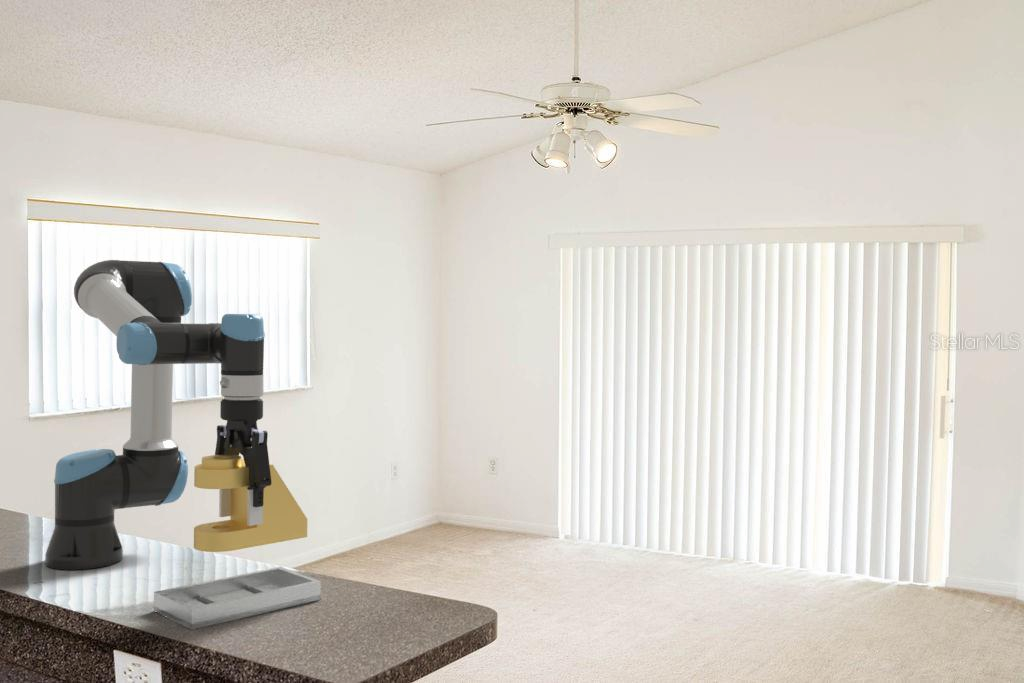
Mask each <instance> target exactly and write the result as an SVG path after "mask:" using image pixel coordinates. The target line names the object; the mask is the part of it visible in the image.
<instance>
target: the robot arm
mask: <svg viewBox="0 0 1024 683" xmlns="http://www.w3.org/2000/svg"><path fill="white" fill-rule="evenodd" d="M73 297H74V299H75V300H74V301H75V302H76V304H77V305H78V307H79V309H81V310H82V311H83V312H84V313H85V315H88V316H90V317H92V318H94V319H98V320H99V321H100V322H101V323H102V324H103V325H104V326H105V327H106V328H107V329H108V330H109V331H110V332H112V334H113V335H114V336H115V337H116V352H117V354H118V358H119V360H120V361H121V362H122V363H124V364H126V365H131V385H130V386H131V389H130V390H131V395H130V398H131V399H130V400H131V401H130V437H129V439H128V440H127V441H126V442H125V443H124V444H122V454H121V455H120V454H119V455H116V453H115V451H114V450H113V449H109V448H103V449H102V448H101V449H99V448H98V449H90V450H85V451H84V450H83V451H80V452H74V453H70V454H68V455H65V456H63V457H61V458H60V459H59V460H58V461H57V462H56V465H55V473H54V479H53V482H54V529H53V530H52V534H51V537H50V540H49V543H48V546H47V548H46V552H45V556H44V557H45V561H44V562H45V563H44V564H45V566H46V567H48V568H50V569H56V570H64V571H65V570H69V571H70V570H71V571H72V570H73V571H74V570H75V571H76V570H89V569H97V568H102V567H107V566H110V565H111V566H112V565H113V564H117V563H119V562H121V561H122V560H123V552H124V551H123V546H122V543H121V539H120V536H119V534H118V532H117V528H116V525H115V511H116V510H119V509H120V510H121V509H129V508H137V507H138V508H139V507H148V506H154V507H155V506H156V507H157V506H158V507H159V506H161V505H164V504H165V505H166V504H171V503H174V502H176V501H177V500H179V499H180V498H181V497H182V495H183V493H184V491H185V488H186V485H187V482H188V474H189V465H188V463H187V462H188V457H187V456H186V454H185V453H184V452H183V451H181V450H180V449H179V443H178V442H176V441H175V439H174V438H173V437H172V435H173V434H172V432H173V431H172V430H173V429H172V427H173V386H174V385H173V382H174V378H173V377H174V376H173V375H174V365H177V364H179V365H180V364H184V365H185V364H187V365H188V364H195V365H196V364H200V365H201V364H220V376H221V377H220V378H221V379H220V381H219V385H220V396H222V397H224V398H222V399H221V400H220V414H219V416H220V419H221V420H222V421H223V420H224V421H226V424H223V425H222V424H221V425H217V426H216V443H215V451H214V455H237V456H240V455H241V456H243V457H242V458H243V459H244V462H245V466H246V467H249V482H250V486H249V487H248V488H247V489H248V507H247V525H248V526H252V525H258V524H263V499H264V488H265V487H266V486H270V485H271V483H272V482H271V473H270V465H269V464H270V458H269V449H268V436H269V435H268V431H267V430H259V428H258V423H257V422H258V420H259V421H260V420H261V419H263V417H264V400H263V399H262V398H261V397H263V396H264V354H265V353H264V352H265V336H266V335H265V329H264V328H265V327H264V326H265V325H264V318H263V317H262V316H261V315H260V314H257V313H256V314H254V313H253V314H252V313H251V314H250V313H224V315H222V317H221V322H220V323H219V322H217V323H212V322H211V323H209V322H208V323H182V317H185V316H186V315H188V314H189V312H190V311H191V307H192V303H193V295H192V287H191V281H190V279H189V277H188V275H187V272H186V271H185V269H183V267H182V266H180V265H179V264H175V263H171V262H162V261H140V260H138V261H137V260H119V259H107V260H102V261H98V262H96V263H94V264H91V265H90V266H88V267H86V268H85V269H84V270H83V271H82V272H81V273H80V274H79V276H78V277H77V278H76V281H75V283H74V287H73ZM255 480H256V482H255ZM218 490H219V492H218V493H219V496H218V497H219V498H218V499H219V501H218V502H219V509H218V512H219V514H218V517H219V518H226V517H230V516H231V488H230V489H218Z"/></svg>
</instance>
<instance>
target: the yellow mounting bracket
mask: <svg viewBox="0 0 1024 683" xmlns="http://www.w3.org/2000/svg"><path fill="white" fill-rule="evenodd" d="M269 465H270V473H271V482H272V483H271V485H270V486H266V487H265V488H264V499H263V524H258V525H252V526H248V525H247V507H248V489H247V488H248V487H249V486H250V482H249V467H246V466H245V462H244V458H243V459H242V455H239V456H237V455H215V454H214V455H213V454H212V455H206V456H202V457H201V463H200V464H196V465H195V466H194V469H193V470H194V474H193V476H194V480H193V481H194V484H193V486H194V487H195V488H199V489H203V490H204V489H205V490H220V489H230V488H231V516H229V518H230V519H227V520H226V519H225V520H220V521H213V522H207V523H206V522H205V523H201V524H198V525H196V526H195V527H194V528H193V549H194V550H197V551H200V552H204V553H205V552H207V553H208V552H209V553H222V552H223V553H224V552H232V551H237V550H243V549H244V550H245V549H248V548H255V547H259V546H265V545H269V544H270V545H271V544H277V543H283V542H288V541H292V540H293V541H294V540H299V539H304V538H308V517H306V515H305V514H304V511H303V510H302V509H301V507H300V505H299V504H298V502H297V501H296V499H295V498H294V496H293V494H292V493H291V491H290V489H289V488H288V485H287V484H286V483H285V482H284V480H283V479H282V477H281V475H280V474H279V472H278V471H277V469H276V468H275V465H273V464H271V463H269ZM255 482H256V480H255Z"/></svg>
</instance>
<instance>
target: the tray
mask: <svg viewBox="0 0 1024 683" xmlns="http://www.w3.org/2000/svg"><path fill="white" fill-rule="evenodd" d="M321 589H322V581H321V580H320V579H319V580H318V579H315V578H313V577H310V576H307V575H305V574H301V573H298V572H296V571H293V570H290V569H288V568H284V567H282V566H279V567H278V566H277V567H274V568H268V569H263V570H262V569H261V570H257V571H252V572H248V573H242V574H239V575H233V576H232V575H231V576H227V577H222V578H217V579H213V580H209V581H208V580H207V581H201V582H197V583H192V584H187V585H181V586H177V587H172V588H167V589H161V590H156V591H153V612H154V611H157V612H159V613H160V614H162V615H161V616H163V615H164V616H163V617H165V616H167V617H168V618H167V617H166V618H167V619H169V618H170V619H169V620H171V619H172V620H171V621H173V620H174V621H173V622H175V621H176V622H175V623H177V624H179V623H180V624H179V625H181V624H182V625H181V626H183V625H184V626H183V627H185V626H186V627H185V628H187V627H188V628H187V629H189V628H190V629H189V630H191V629H192V631H193V630H197V629H196V628H198V629H201V628H200V627H202V628H205V627H204V626H206V627H210V626H215V625H219V624H223V623H226V622H231V621H236V620H241V619H244V618H248V617H252V616H256V615H261V614H266V613H270V612H274V611H279V610H282V609H286V608H290V607H291V608H292V607H295V606H299V605H304V604H308V603H312V602H317V601H320V600H322V599H321V598H322V590H321ZM160 614H159V615H160ZM214 624H215V625H214Z"/></svg>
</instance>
